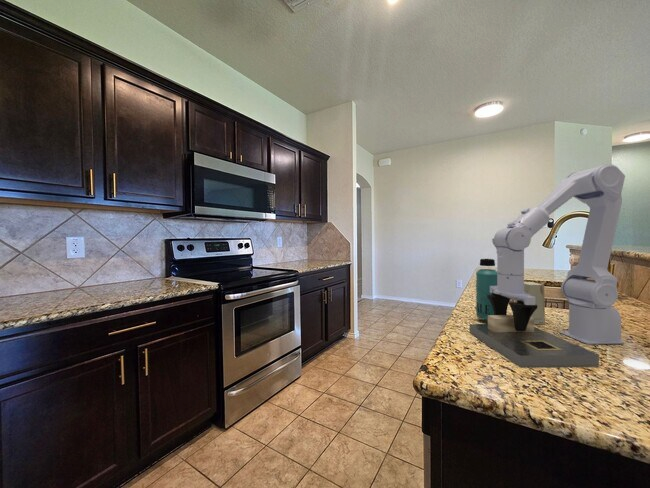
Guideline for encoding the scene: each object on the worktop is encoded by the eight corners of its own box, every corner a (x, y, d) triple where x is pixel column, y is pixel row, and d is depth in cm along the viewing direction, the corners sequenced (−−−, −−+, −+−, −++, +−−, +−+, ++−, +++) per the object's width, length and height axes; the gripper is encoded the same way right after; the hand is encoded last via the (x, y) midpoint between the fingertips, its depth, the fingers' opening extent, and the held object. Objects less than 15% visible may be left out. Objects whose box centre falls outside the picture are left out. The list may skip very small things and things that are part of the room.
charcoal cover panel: (526, 332, 75) (527, 323, 75) (598, 366, 55) (598, 354, 55) (469, 333, 75) (469, 323, 75) (520, 367, 55) (520, 355, 55)
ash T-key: (525, 336, 72) (525, 314, 72) (533, 341, 69) (533, 318, 69) (487, 337, 72) (487, 315, 72) (494, 341, 69) (494, 318, 69)
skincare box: (545, 325, 80) (545, 285, 80) (529, 324, 81) (529, 284, 81) (533, 318, 87) (533, 281, 86) (518, 318, 88) (518, 281, 87)
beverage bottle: (499, 320, 86) (499, 258, 85) (499, 326, 80) (499, 259, 80) (476, 317, 89) (476, 257, 89) (475, 323, 84) (474, 259, 83)
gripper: (479, 270, 77) (479, 317, 77) (514, 278, 63) (513, 336, 63) (503, 270, 77) (503, 317, 77) (544, 278, 63) (544, 335, 63)
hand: (510, 325), depth 70 cm, fingers open, 7 cm apart
